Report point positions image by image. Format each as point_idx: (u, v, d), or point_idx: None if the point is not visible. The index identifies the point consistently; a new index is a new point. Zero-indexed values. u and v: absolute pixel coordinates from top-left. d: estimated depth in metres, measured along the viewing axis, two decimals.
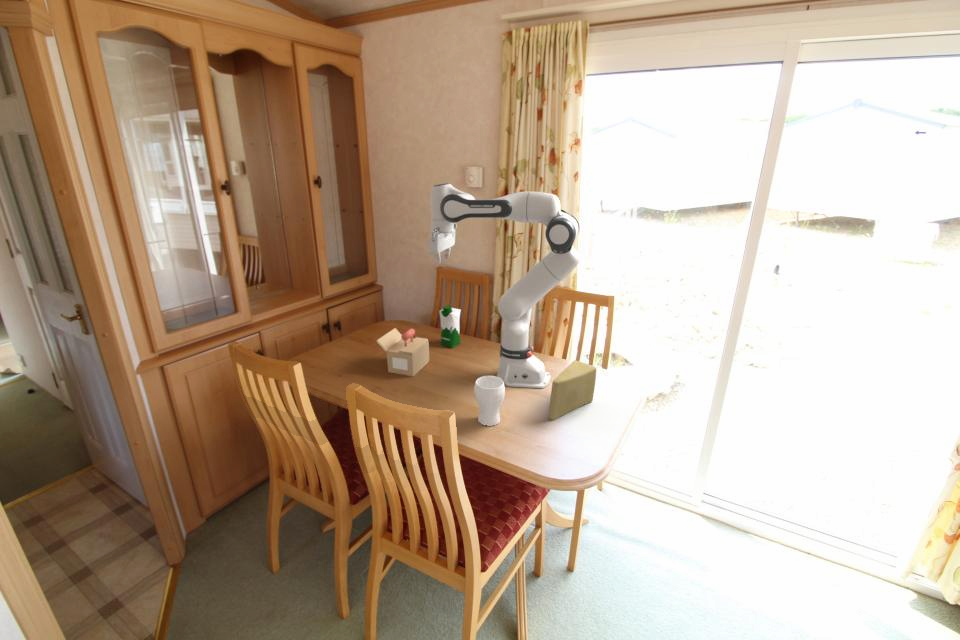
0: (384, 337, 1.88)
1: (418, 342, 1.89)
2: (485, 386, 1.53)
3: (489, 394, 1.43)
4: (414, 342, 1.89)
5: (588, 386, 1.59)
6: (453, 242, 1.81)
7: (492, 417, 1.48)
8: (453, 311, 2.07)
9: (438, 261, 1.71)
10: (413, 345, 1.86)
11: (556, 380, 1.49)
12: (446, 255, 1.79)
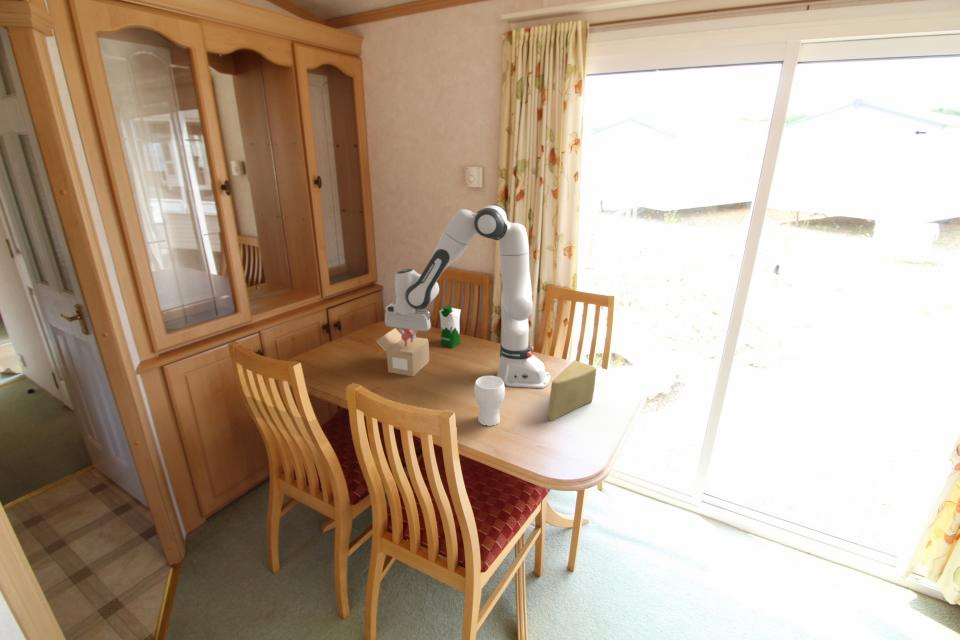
0: (384, 337, 1.88)
1: (418, 342, 1.89)
2: (485, 386, 1.53)
3: (489, 394, 1.43)
4: (414, 342, 1.89)
5: (588, 387, 1.59)
6: None
7: (492, 417, 1.48)
8: (453, 311, 2.07)
9: (414, 336, 1.86)
10: (413, 345, 1.86)
11: (555, 380, 1.49)
12: None
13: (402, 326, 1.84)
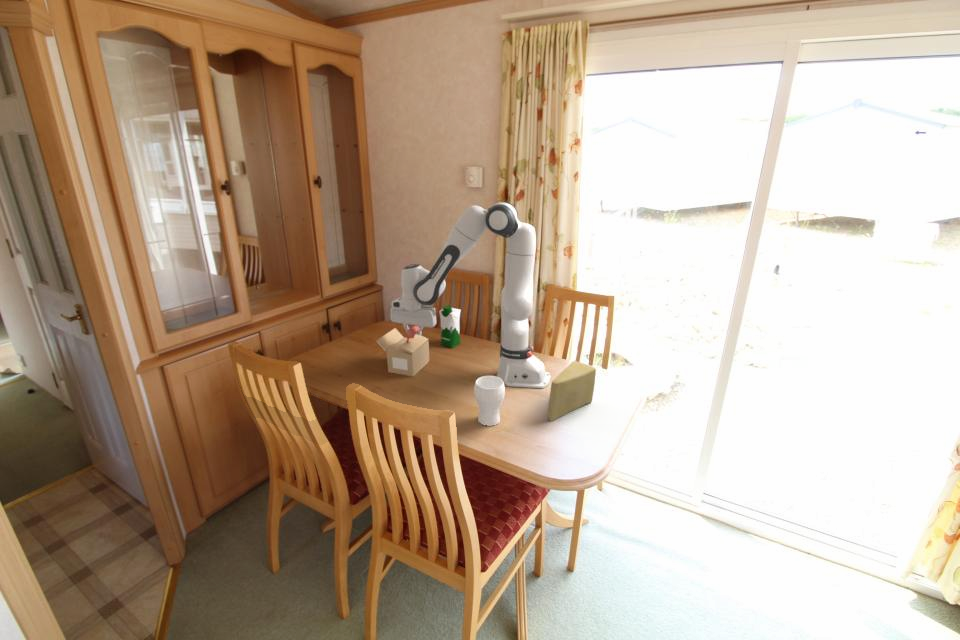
0: (384, 337, 1.88)
1: (419, 340, 1.89)
2: (485, 386, 1.53)
3: (489, 394, 1.43)
4: (415, 339, 1.89)
5: (587, 387, 1.58)
6: None
7: (492, 417, 1.48)
8: (453, 311, 2.07)
9: (420, 332, 1.84)
10: (414, 343, 1.86)
11: (555, 381, 1.48)
12: None
13: (407, 322, 1.82)
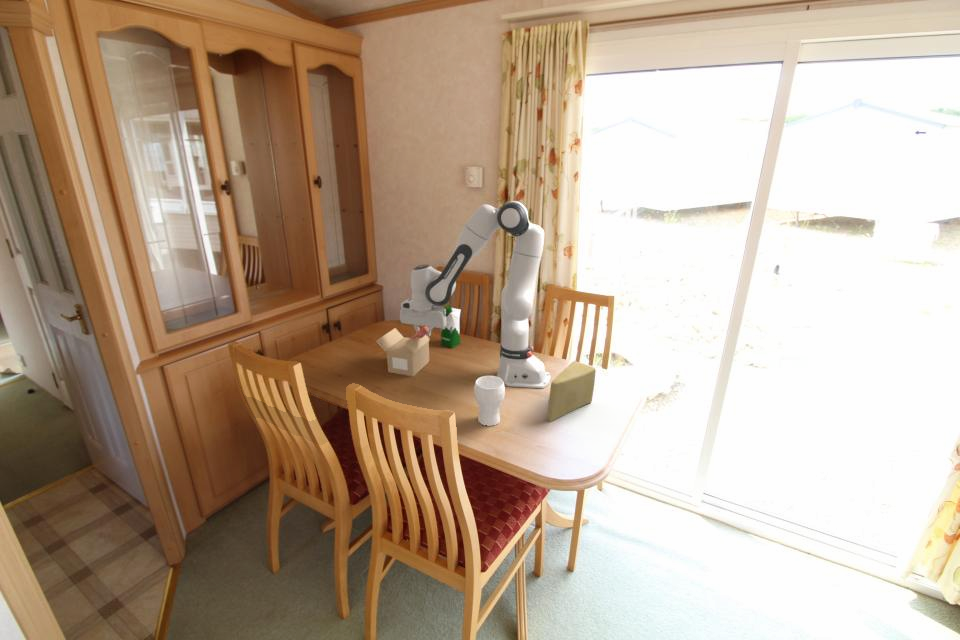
0: (384, 337, 1.88)
1: (422, 339, 1.88)
2: (485, 386, 1.53)
3: (489, 394, 1.43)
4: None
5: (587, 387, 1.58)
6: None
7: (492, 417, 1.48)
8: (453, 311, 2.07)
9: (430, 333, 1.83)
10: (418, 341, 1.85)
11: (555, 381, 1.48)
12: None
13: (417, 323, 1.81)
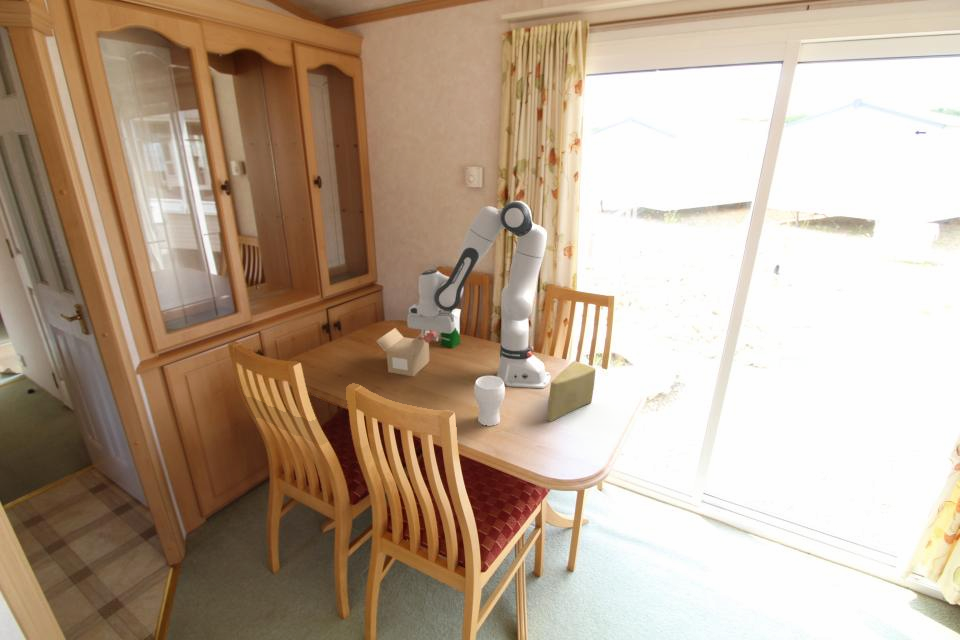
0: (384, 337, 1.88)
1: (425, 339, 1.88)
2: (485, 386, 1.53)
3: (489, 394, 1.43)
4: (424, 337, 1.87)
5: (587, 387, 1.58)
6: None
7: (492, 417, 1.48)
8: (453, 311, 2.07)
9: (437, 338, 1.83)
10: (421, 342, 1.84)
11: (554, 381, 1.48)
12: None
13: (425, 328, 1.80)
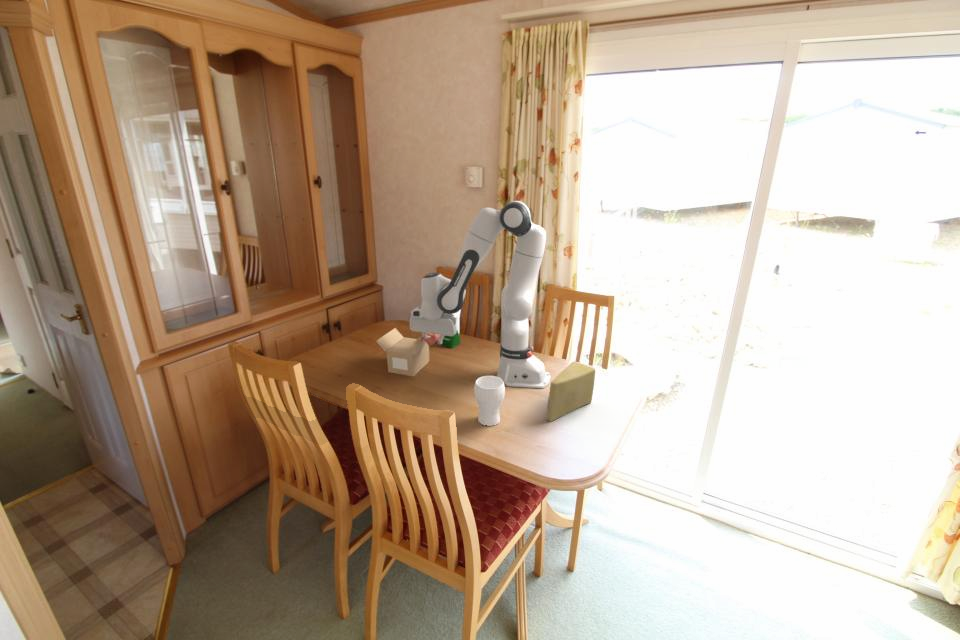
0: (384, 337, 1.88)
1: None
2: (485, 386, 1.53)
3: (489, 394, 1.43)
4: None
5: (587, 387, 1.58)
6: None
7: (492, 417, 1.48)
8: None
9: (441, 341, 1.82)
10: (422, 342, 1.84)
11: (554, 381, 1.48)
12: (428, 338, 1.84)
13: (427, 331, 1.81)
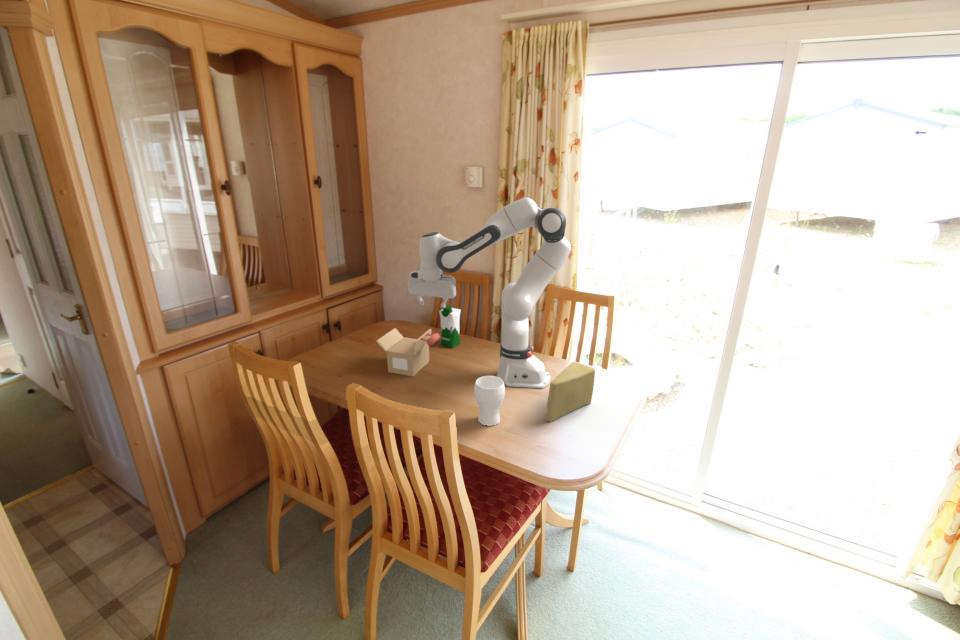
0: (384, 337, 1.88)
1: (426, 340, 1.88)
2: (485, 386, 1.53)
3: (489, 394, 1.43)
4: (425, 338, 1.87)
5: (587, 388, 1.58)
6: None
7: (492, 417, 1.48)
8: (453, 311, 2.07)
9: (444, 305, 1.77)
10: (422, 342, 1.84)
11: (554, 381, 1.48)
12: (423, 302, 1.79)
13: (426, 294, 1.75)
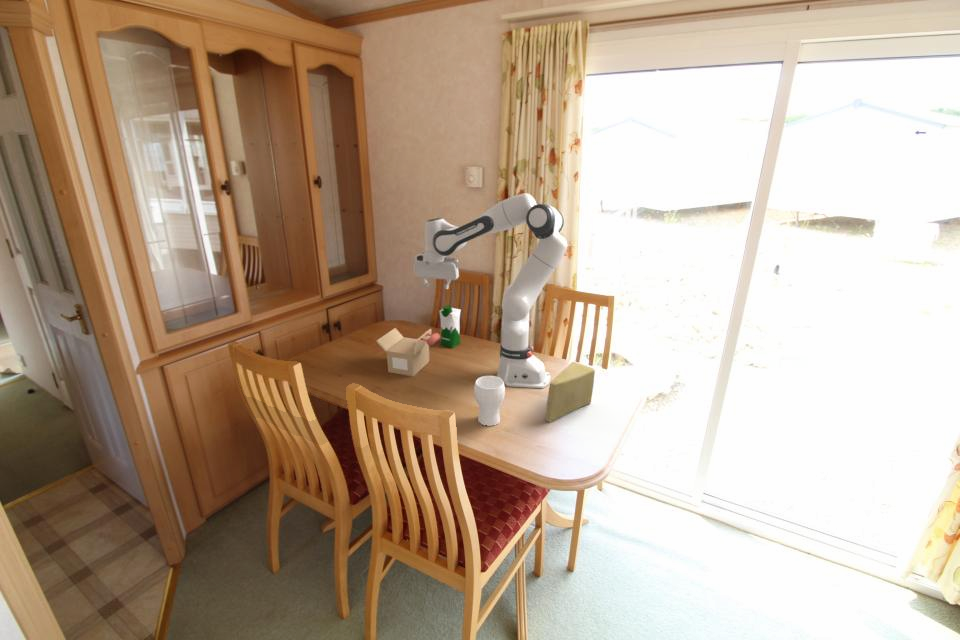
0: (384, 337, 1.88)
1: (426, 340, 1.88)
2: (485, 386, 1.53)
3: (489, 394, 1.43)
4: (425, 338, 1.87)
5: (586, 388, 1.58)
6: None
7: (492, 417, 1.48)
8: (453, 311, 2.07)
9: (448, 287, 1.89)
10: (422, 342, 1.84)
11: (553, 382, 1.48)
12: (428, 283, 1.91)
13: (431, 276, 1.87)
